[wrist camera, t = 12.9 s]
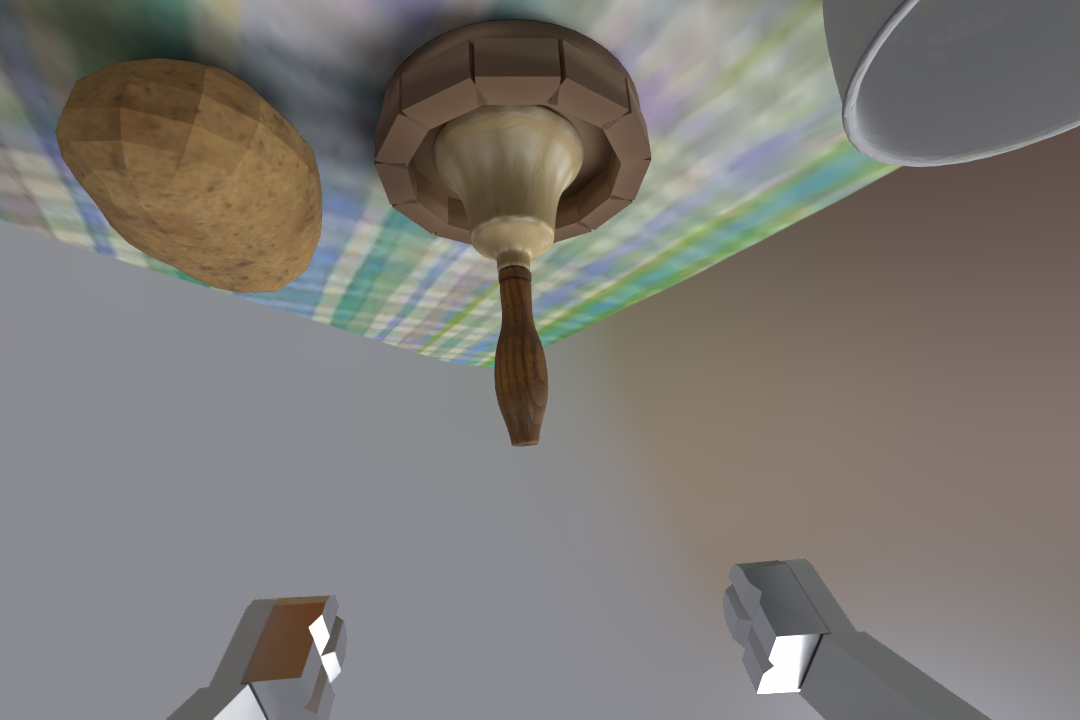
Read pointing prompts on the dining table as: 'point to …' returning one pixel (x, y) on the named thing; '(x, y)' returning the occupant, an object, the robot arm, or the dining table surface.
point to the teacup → (953, 75)
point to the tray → (512, 79)
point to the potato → (195, 171)
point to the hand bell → (512, 229)
